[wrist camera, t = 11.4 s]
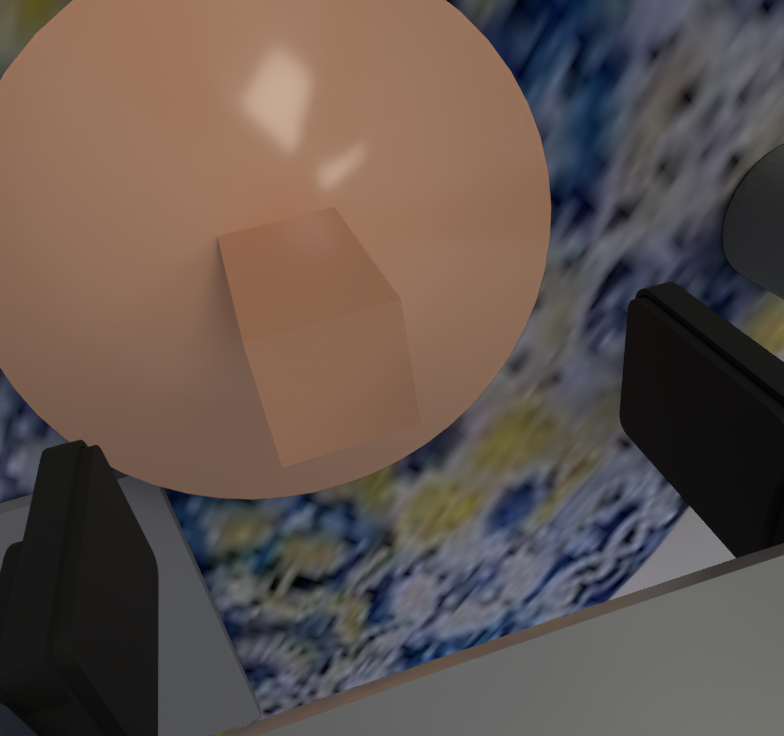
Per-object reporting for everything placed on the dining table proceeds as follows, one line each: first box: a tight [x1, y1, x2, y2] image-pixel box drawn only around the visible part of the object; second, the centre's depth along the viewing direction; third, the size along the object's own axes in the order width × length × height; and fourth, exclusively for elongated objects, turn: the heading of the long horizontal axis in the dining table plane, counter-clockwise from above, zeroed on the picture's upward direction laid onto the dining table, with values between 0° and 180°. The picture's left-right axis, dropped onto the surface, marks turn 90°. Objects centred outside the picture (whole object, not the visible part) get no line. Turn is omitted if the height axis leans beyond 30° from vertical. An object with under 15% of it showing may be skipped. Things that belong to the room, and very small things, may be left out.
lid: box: [0, 0, 551, 499], centre depth 17 cm, size 16×16×7 cm
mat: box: [0, 470, 261, 736], centre depth 28 cm, size 16×16×1 cm
